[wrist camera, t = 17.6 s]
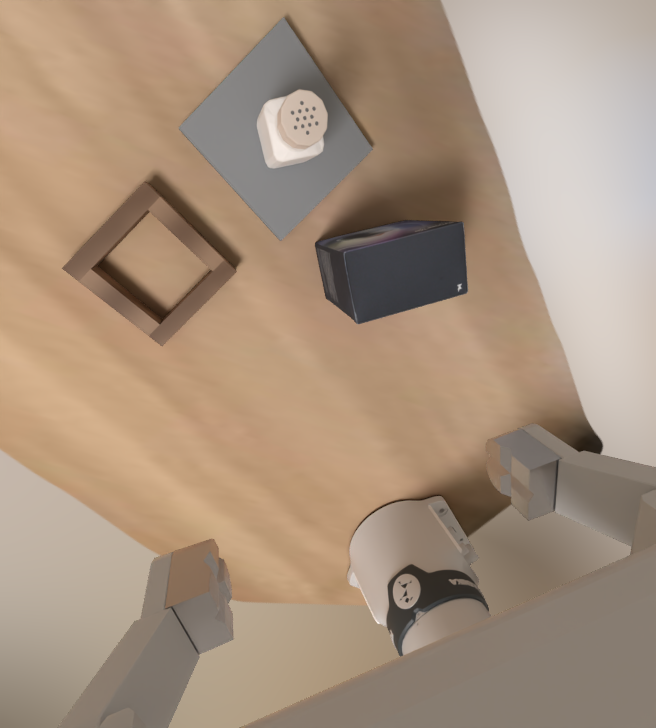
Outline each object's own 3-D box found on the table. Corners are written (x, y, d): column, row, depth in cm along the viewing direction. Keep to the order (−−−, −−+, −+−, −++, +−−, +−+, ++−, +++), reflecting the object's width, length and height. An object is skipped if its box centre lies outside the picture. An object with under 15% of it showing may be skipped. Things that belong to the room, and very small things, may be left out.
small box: (408, 214, 40) (467, 217, 31) (415, 276, 43) (471, 295, 33) (312, 239, 38) (343, 249, 29) (325, 301, 41) (357, 329, 32)
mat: (369, 150, 37) (373, 149, 36) (279, 240, 37) (280, 240, 37) (281, 22, 31) (283, 17, 30) (179, 129, 32) (178, 127, 31)
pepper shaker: (253, 118, 32) (266, 87, 24) (299, 110, 33) (327, 76, 25) (266, 170, 34) (282, 158, 26) (309, 161, 35) (339, 146, 26)
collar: (235, 268, 37) (236, 271, 36) (164, 339, 38) (162, 346, 36) (148, 183, 33) (144, 181, 31) (70, 265, 34) (61, 268, 32)
